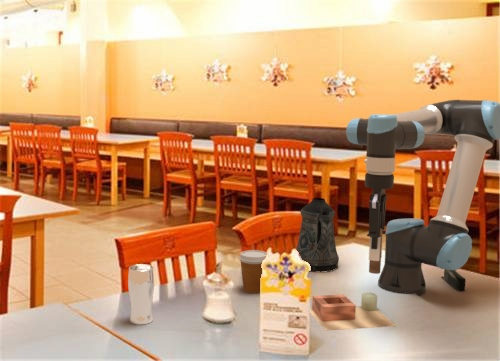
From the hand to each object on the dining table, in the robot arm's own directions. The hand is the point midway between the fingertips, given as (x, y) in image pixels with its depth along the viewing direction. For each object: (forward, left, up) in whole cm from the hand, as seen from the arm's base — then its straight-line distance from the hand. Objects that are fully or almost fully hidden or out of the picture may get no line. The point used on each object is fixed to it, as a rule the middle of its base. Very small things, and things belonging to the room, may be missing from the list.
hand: (375, 258), depth 168 cm
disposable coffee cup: (+26, -33, -19) cm, 46 cm away
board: (+5, -3, -19) cm, 19 cm away
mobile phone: (-42, -30, -19) cm, 54 cm away
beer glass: (+62, -12, -19) cm, 66 cm away
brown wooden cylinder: (0, 0, -4) cm, 4 cm away
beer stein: (-3, -56, -19) cm, 59 cm away
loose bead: (-3, -9, -18) cm, 20 cm away
